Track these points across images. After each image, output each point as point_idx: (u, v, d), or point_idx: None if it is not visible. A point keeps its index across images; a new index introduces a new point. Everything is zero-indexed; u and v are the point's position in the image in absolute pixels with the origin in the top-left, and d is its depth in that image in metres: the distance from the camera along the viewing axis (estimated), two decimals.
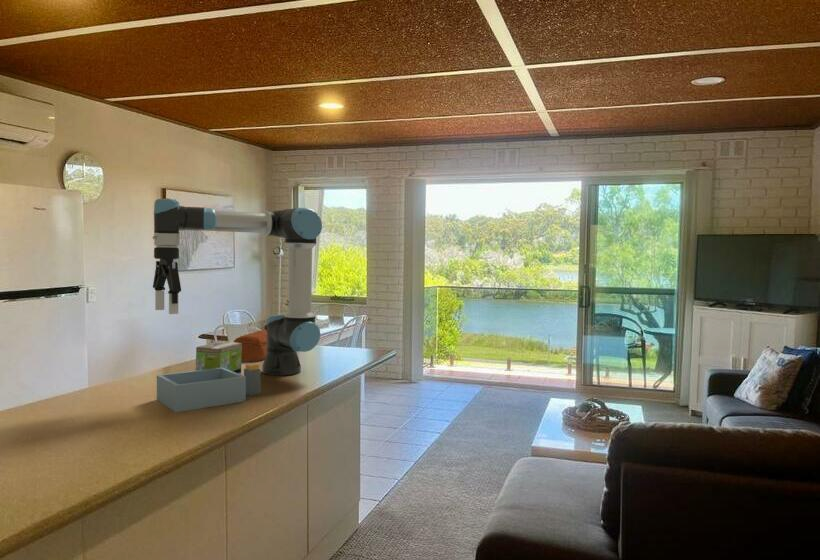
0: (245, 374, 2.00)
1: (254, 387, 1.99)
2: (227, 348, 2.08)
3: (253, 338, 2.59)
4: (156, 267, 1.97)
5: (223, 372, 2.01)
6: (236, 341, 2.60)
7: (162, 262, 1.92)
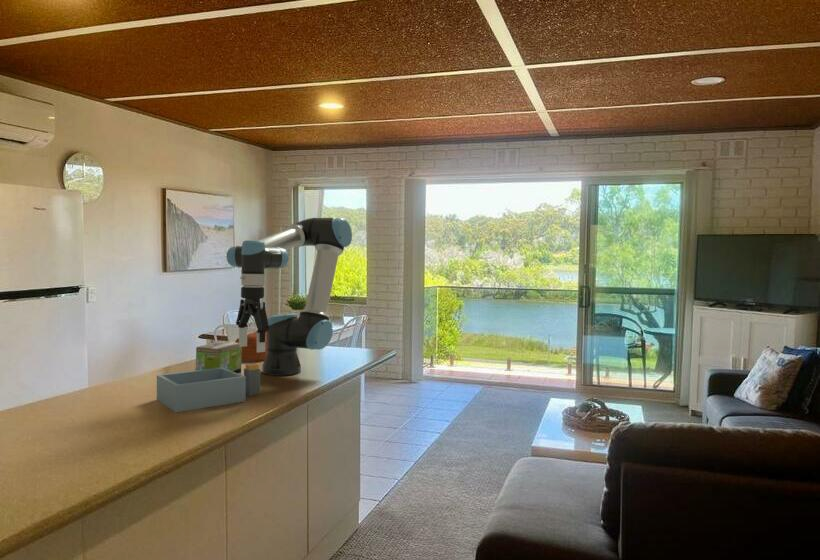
0: (245, 374, 2.00)
1: (254, 387, 1.99)
2: (227, 348, 2.08)
3: (255, 338, 2.59)
4: (240, 305, 2.03)
5: (223, 372, 2.01)
6: (238, 341, 2.59)
7: (248, 301, 1.99)
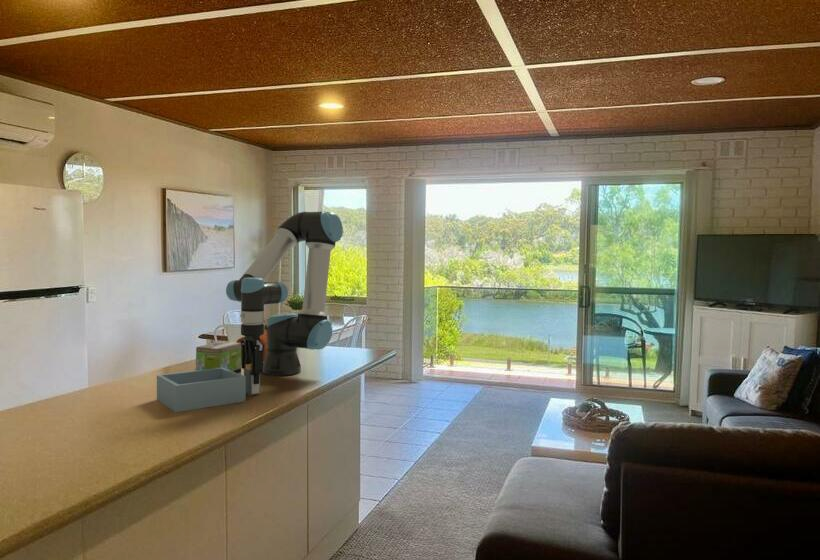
0: (245, 374, 2.00)
1: None
2: (227, 348, 2.08)
3: None
4: (242, 346, 2.03)
5: (223, 372, 2.01)
6: (239, 341, 2.58)
7: None
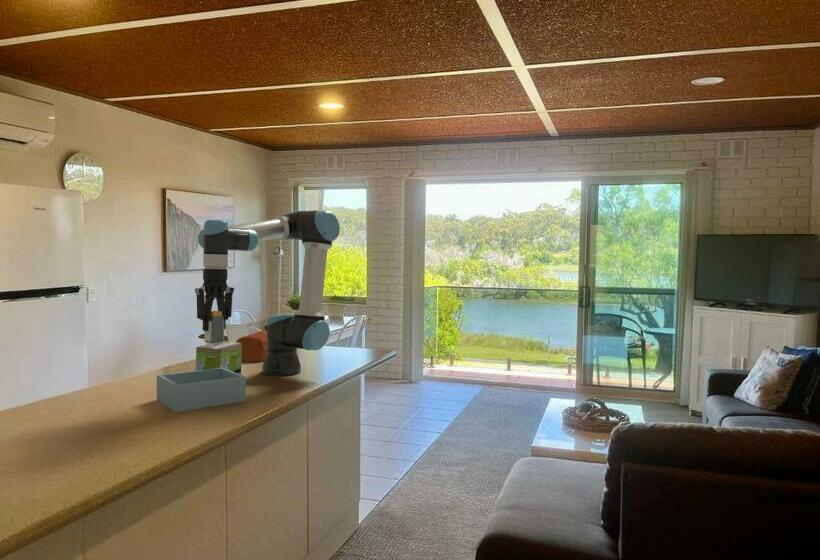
0: None
1: None
2: (227, 348, 2.08)
3: (255, 338, 2.58)
4: None
5: (223, 372, 2.01)
6: (238, 341, 2.59)
7: None
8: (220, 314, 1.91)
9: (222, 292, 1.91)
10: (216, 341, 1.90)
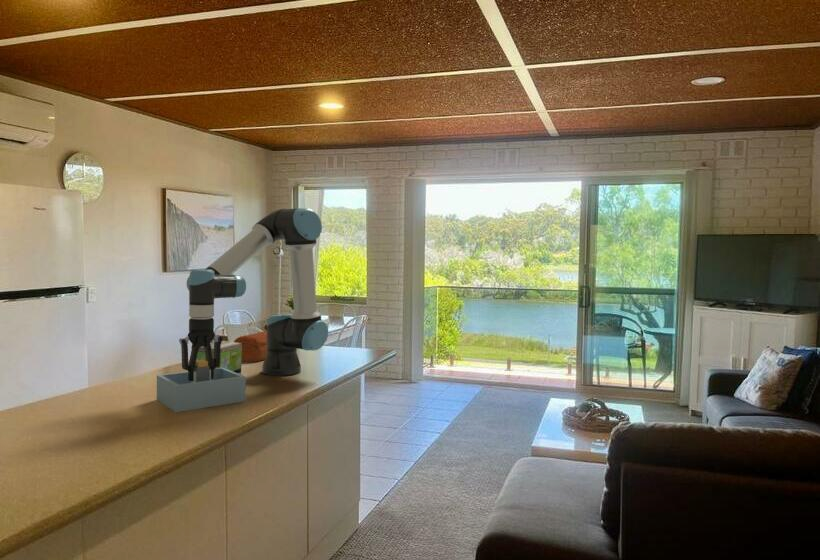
0: None
1: None
2: (227, 348, 2.08)
3: (251, 338, 2.57)
4: None
5: (223, 372, 2.01)
6: (235, 341, 2.59)
7: None
8: (206, 364, 1.89)
9: (208, 342, 1.89)
10: None
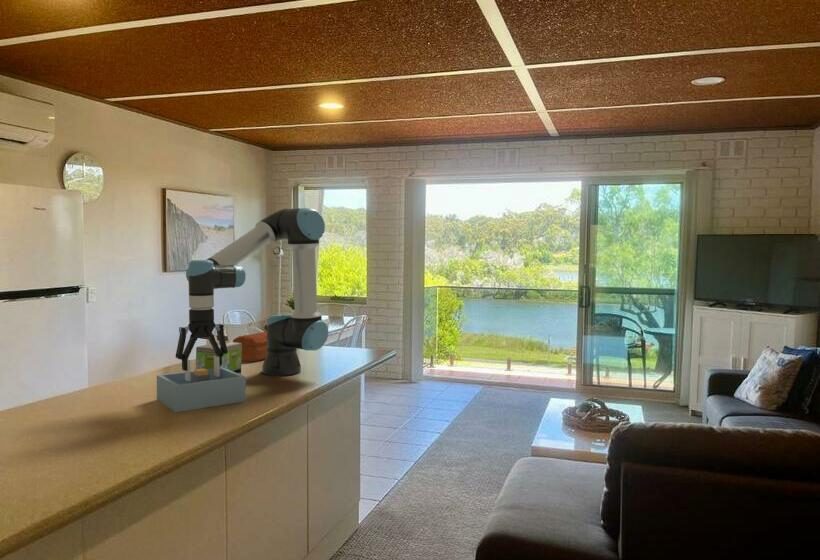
0: None
1: None
2: (227, 348, 2.08)
3: (249, 338, 2.57)
4: None
5: (223, 372, 2.01)
6: (234, 341, 2.60)
7: None
8: (206, 373, 1.90)
9: (209, 332, 1.89)
10: None
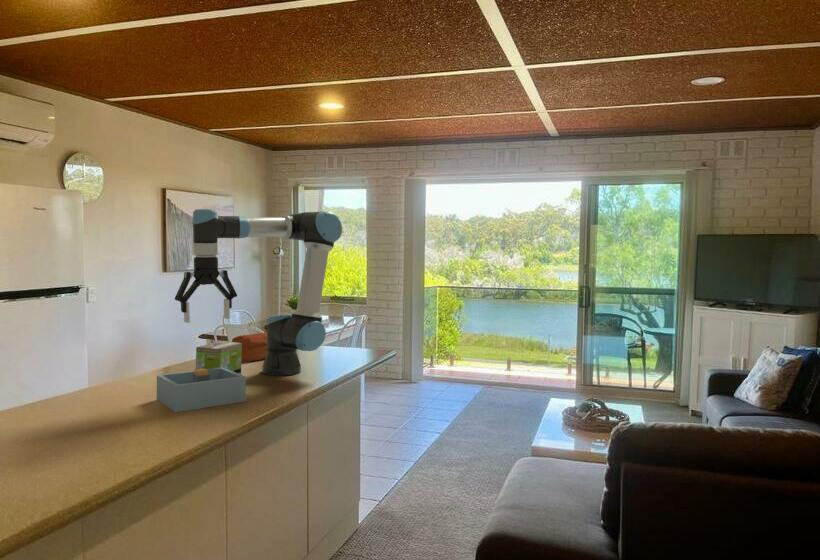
0: None
1: None
2: (227, 348, 2.08)
3: (245, 338, 2.57)
4: None
5: (223, 372, 2.01)
6: (232, 340, 2.61)
7: None
8: (206, 373, 1.90)
9: (215, 278, 1.96)
10: None
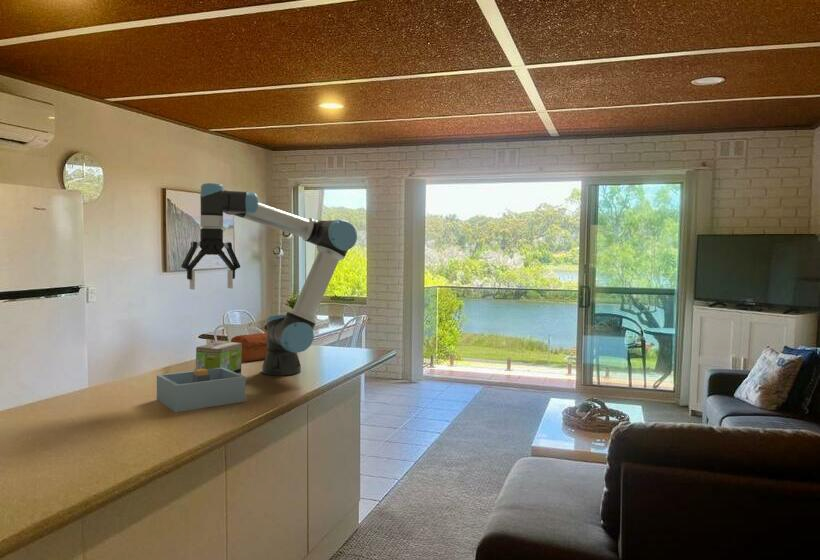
0: None
1: None
2: (227, 348, 2.08)
3: (242, 338, 2.58)
4: None
5: (223, 372, 2.01)
6: (231, 340, 2.62)
7: None
8: (206, 373, 1.90)
9: (219, 249, 2.08)
10: None
